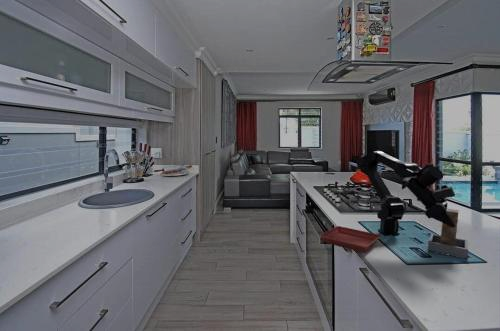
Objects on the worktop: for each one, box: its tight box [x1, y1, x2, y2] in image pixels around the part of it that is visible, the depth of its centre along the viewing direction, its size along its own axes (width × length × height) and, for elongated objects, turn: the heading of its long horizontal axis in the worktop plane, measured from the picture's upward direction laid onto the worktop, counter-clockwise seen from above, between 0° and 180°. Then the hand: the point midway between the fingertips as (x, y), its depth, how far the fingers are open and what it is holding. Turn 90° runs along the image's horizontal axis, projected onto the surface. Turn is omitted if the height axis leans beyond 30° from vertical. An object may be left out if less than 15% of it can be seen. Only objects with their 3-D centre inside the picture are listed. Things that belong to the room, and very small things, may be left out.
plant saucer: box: [319, 225, 382, 253], centre depth 114 cm, size 18×18×3 cm
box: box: [427, 233, 469, 260], centre depth 108 cm, size 12×12×4 cm
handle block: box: [440, 208, 459, 245], centre depth 107 cm, size 4×4×12 cm
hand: (454, 225), depth 106 cm, fingers closed on handle block, 4 cm apart
